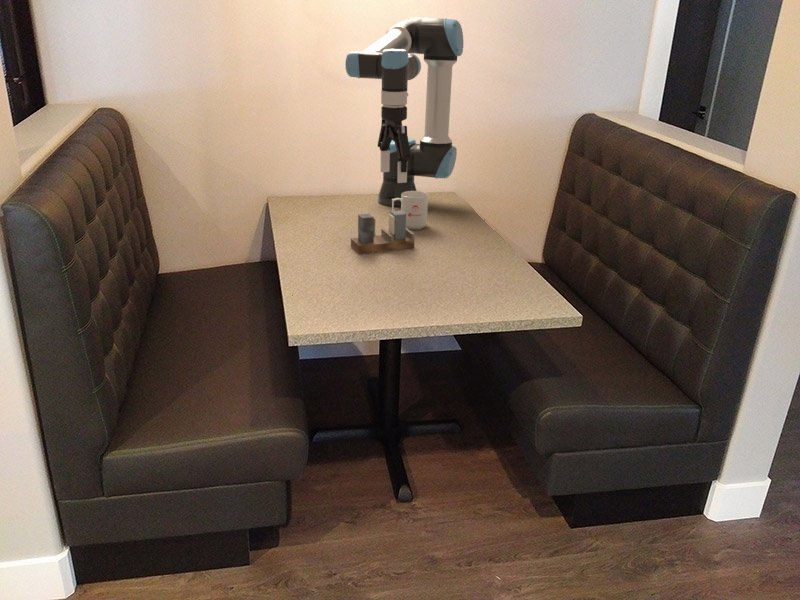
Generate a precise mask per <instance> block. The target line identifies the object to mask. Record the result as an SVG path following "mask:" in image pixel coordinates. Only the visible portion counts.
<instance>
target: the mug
mask: <svg viewBox="0 0 800 600" xmlns="http://www.w3.org/2000/svg"><path fill="white" fill-rule="evenodd" d="M395 200H400V201H401V206H400V211H403V212H404V213H405V214H406V228H407V229H409V230H421V229H424V228H425V227H426V226H427V224H428V206H429V203H428V202H429V194H428V193H427V192H424V191H421V190H420V191H419V190H417V191H406V192H403V193H402V194H401V198H395V199H392V206H391V208H392V209H391V210H392V211H395V206H394V201H395Z"/></svg>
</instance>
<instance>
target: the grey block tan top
mask: <svg viewBox="0 0 800 600" xmlns="http://www.w3.org/2000/svg"><path fill="white" fill-rule="evenodd" d="M388 232H389V233H390V234H391V235H393V236H394V240H400V239H406V214H405V213H404V212H403V211H401V210H394V211H390V212H389V214H388Z"/></svg>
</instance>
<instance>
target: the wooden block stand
mask: <svg viewBox="0 0 800 600" xmlns="http://www.w3.org/2000/svg"><path fill="white" fill-rule="evenodd" d="M357 224H358V225H357V228H358V229H357V233H358V234H357V237H351V238H350V247H352V249H354V250H355V252H357V253H358V255H363V253H365V254H372V252H374V253H380V251H381V252H382V251H383V252H388V251H389V252H391V251H398V250H399V251H400V250H406V249H407V250H408V249H415V244H416V243H415V239H416V237H415V235H416V234H415V233H414V232H413V231H412V230H411V229H407V228H406V239H400V240H394V236H393V235H391V234H390V232H389V230H387V229H385V228H381V231H380V233H381V234H380V235H379V234H377V235H376V218H375V216H373V215H372V214H370V213H361V214H359V213H358V215H357Z"/></svg>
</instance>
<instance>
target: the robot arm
mask: <svg viewBox="0 0 800 600" xmlns="http://www.w3.org/2000/svg"><path fill="white" fill-rule="evenodd" d="M463 52H464V32H463V29H462V25H461V23H460V21H458V20H457V19H454V18H453V19H452V18H447V17H446V18H432V17H414V18H410V19H409V18H408V19H406V20H403V21H400V22H398V23H396V24H394V25H392V26H391V27H390V28H388V29H387V31H386V32H385V35H384V36H382V37H381V38H380V39H378V40H377V41H375V42H374V43H373V44H371V45H370V46H369V47H367V48H366V49H364V50H363V51H358V50H357V51H350V52H348V53H347V55H346V58H345V72H346V74H347V75H348V77H350V78H356V79H357V78H358V79H369V80H370V79H371V80H372V79H373V80H374V79H375V80H381V92H380V93H381V97H380V98H381V99H380V100H381V101H380V102H381V105H382V106H381V112H380V114H381V115H380V116H381V127H380V131H379V136H378V141H377V147H378V148H379V150H380V173H382V176H383V177H382V183H381V186H380V189H379V193H378V196H377V197H378V203H379V204H381V205H384V206H389V207H392V199H395V198H401V194H402V193H403V192H406V191H418V190H417V187H416V184H415V177H425V178H434V179H437V180H438V179H447V178H449V177H450V176H451V175H452V174H453V171H454V168H455V164H456V160H457V147H456V146H453V140H452V139H451V138H450V136H449V131H450V130H449V129H450V113H451V95H452V79H453V66H454V65H455V64H456V63H458V57H460V56H462V54H463ZM416 54H417V55H416ZM418 55H423V61H424V63H426V65H427V72H426V73H427V75H426V97H425V99H426V101H425V115H424V116H425V118H424V135H423V136H422V137H421V138H420V139H419V143H417V141H416V139H415V138H412V137H411V138H410V137H408V126H407V125H403V121H405V120H407V118H408V107H407V106H406V105H407V104H408V97H409V93H408V85H409V84H408V82H409V81H411V80H413V79H415V78H417V76H418V75H419V74H420V72H421V70H422V64H421V61H420V60H421V59H420V57H418ZM394 207H401V201H400V200H395V201H394Z"/></svg>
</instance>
